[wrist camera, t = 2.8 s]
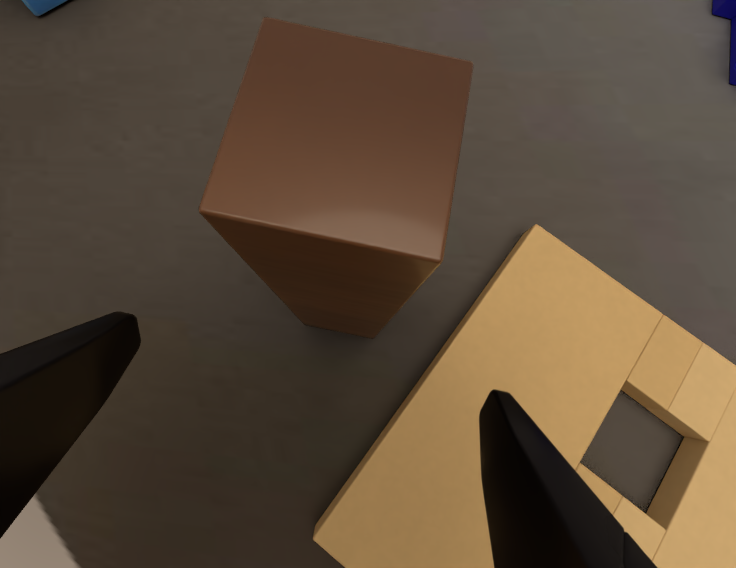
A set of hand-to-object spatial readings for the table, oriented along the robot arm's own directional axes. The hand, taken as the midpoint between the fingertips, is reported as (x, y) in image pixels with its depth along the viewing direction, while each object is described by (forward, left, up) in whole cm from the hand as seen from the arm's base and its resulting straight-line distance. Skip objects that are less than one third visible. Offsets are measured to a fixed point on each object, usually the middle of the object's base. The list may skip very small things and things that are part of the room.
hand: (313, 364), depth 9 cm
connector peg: (+4, +2, -11) cm, 12 cm away
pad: (+4, -10, -11) cm, 15 cm away
